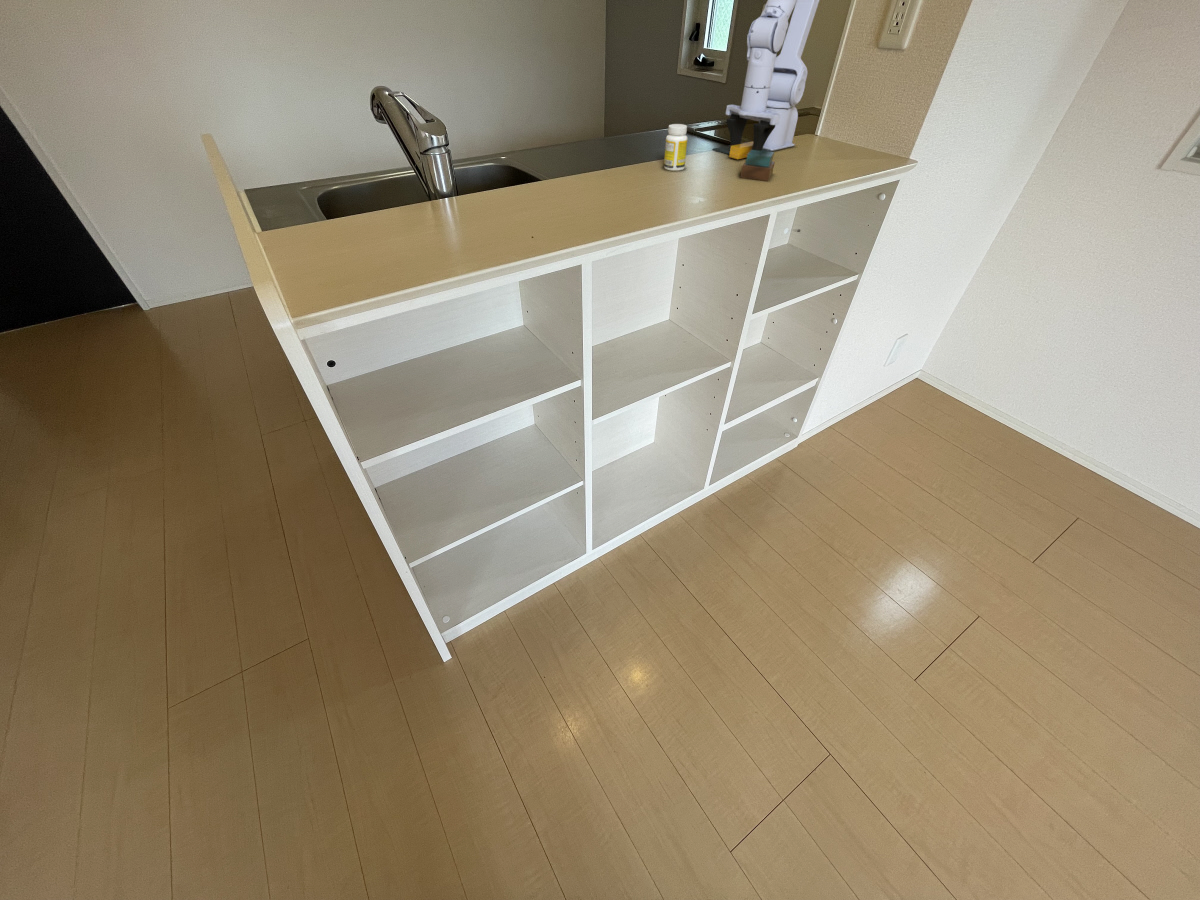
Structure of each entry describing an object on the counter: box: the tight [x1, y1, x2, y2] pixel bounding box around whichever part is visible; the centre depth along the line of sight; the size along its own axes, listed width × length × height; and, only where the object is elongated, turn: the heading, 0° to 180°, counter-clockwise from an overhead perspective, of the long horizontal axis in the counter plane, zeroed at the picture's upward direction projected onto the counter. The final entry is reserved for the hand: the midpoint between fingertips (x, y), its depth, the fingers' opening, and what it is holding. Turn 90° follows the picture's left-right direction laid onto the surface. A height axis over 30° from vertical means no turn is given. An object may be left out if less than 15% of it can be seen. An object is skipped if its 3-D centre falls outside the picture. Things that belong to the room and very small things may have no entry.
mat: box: [712, 140, 780, 156], centre depth 129 cm, size 14×10×1 cm
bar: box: [728, 140, 753, 160], centre depth 123 cm, size 8×3×2 cm, turn 127°
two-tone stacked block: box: [740, 150, 775, 182], centre depth 111 cm, size 6×6×4 cm
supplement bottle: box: [663, 123, 688, 172], centre depth 113 cm, size 5×5×8 cm
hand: (744, 154), depth 124 cm, fingers open, 6 cm apart
